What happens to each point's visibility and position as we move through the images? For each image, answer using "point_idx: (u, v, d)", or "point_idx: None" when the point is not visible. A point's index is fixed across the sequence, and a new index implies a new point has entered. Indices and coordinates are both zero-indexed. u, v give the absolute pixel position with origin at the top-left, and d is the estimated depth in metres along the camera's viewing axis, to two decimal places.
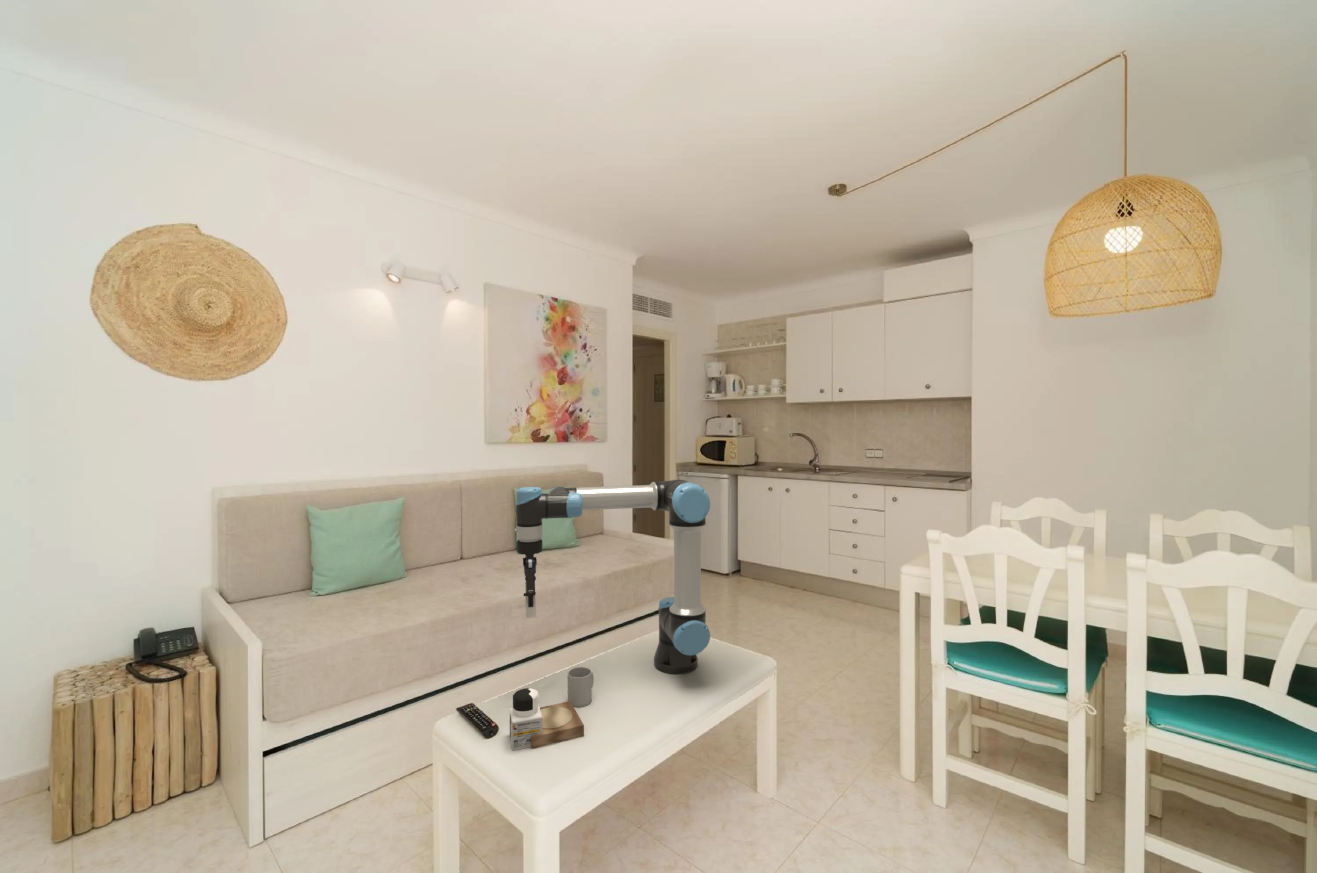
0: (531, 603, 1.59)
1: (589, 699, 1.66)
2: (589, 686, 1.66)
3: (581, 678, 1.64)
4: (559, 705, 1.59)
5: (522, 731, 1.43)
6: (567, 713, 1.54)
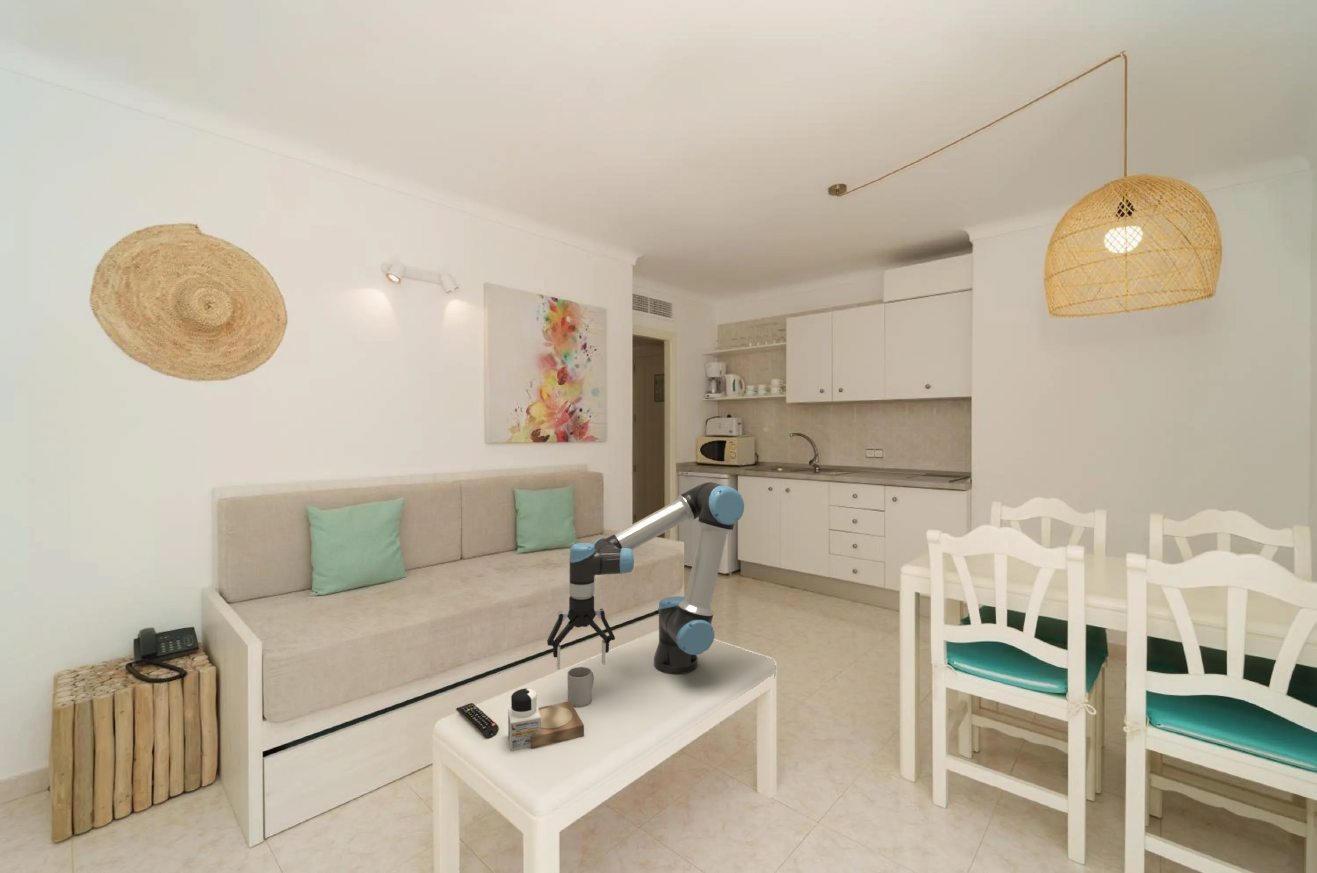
0: (553, 653, 1.66)
1: (589, 699, 1.66)
2: (589, 686, 1.66)
3: (581, 678, 1.64)
4: (559, 705, 1.59)
5: (520, 731, 1.43)
6: (567, 713, 1.54)
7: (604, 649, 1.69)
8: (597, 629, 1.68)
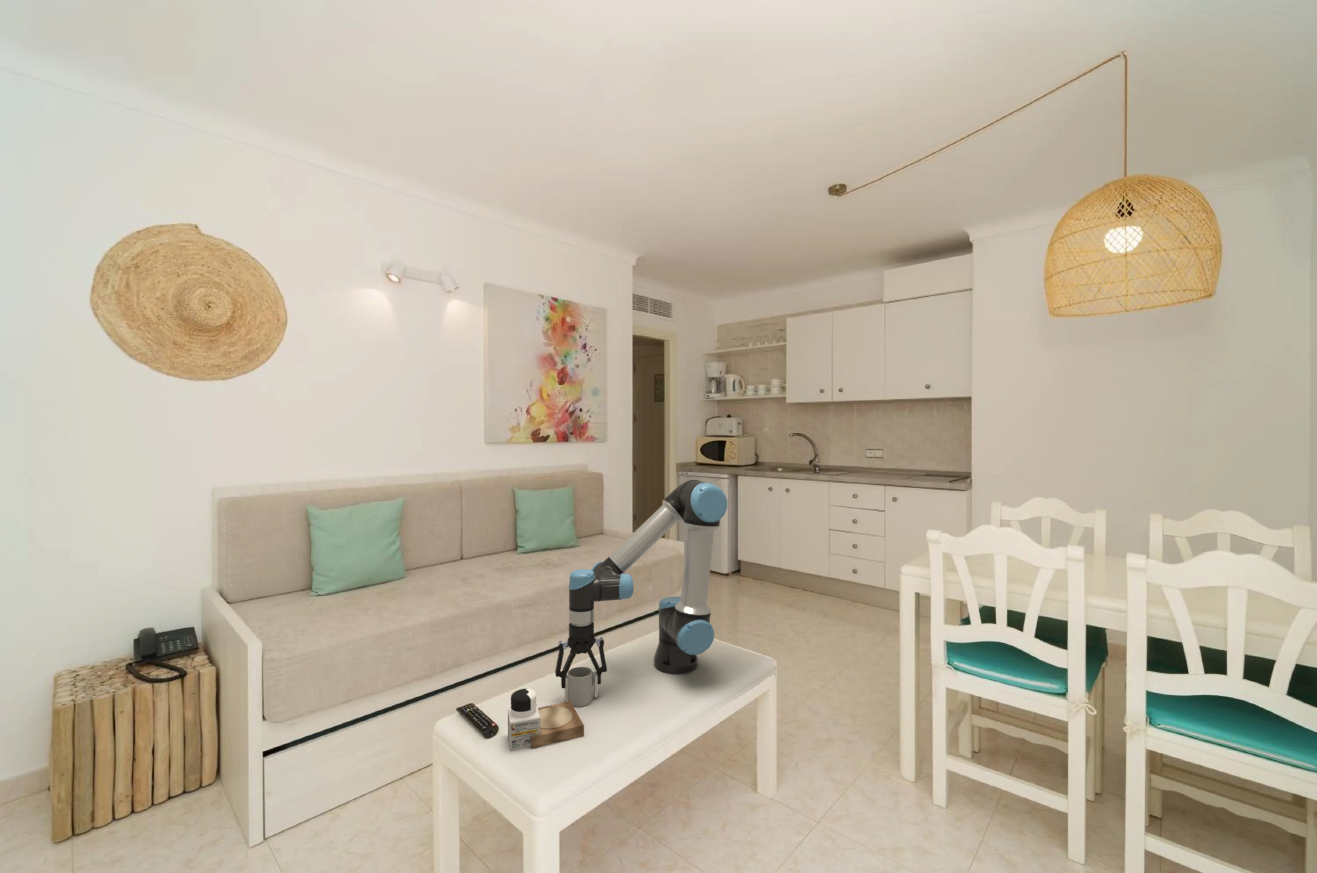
0: None
1: (589, 699, 1.66)
2: (589, 686, 1.66)
3: (582, 678, 1.64)
4: (559, 705, 1.59)
5: (520, 731, 1.43)
6: (567, 713, 1.54)
7: (596, 681, 1.68)
8: (593, 658, 1.68)
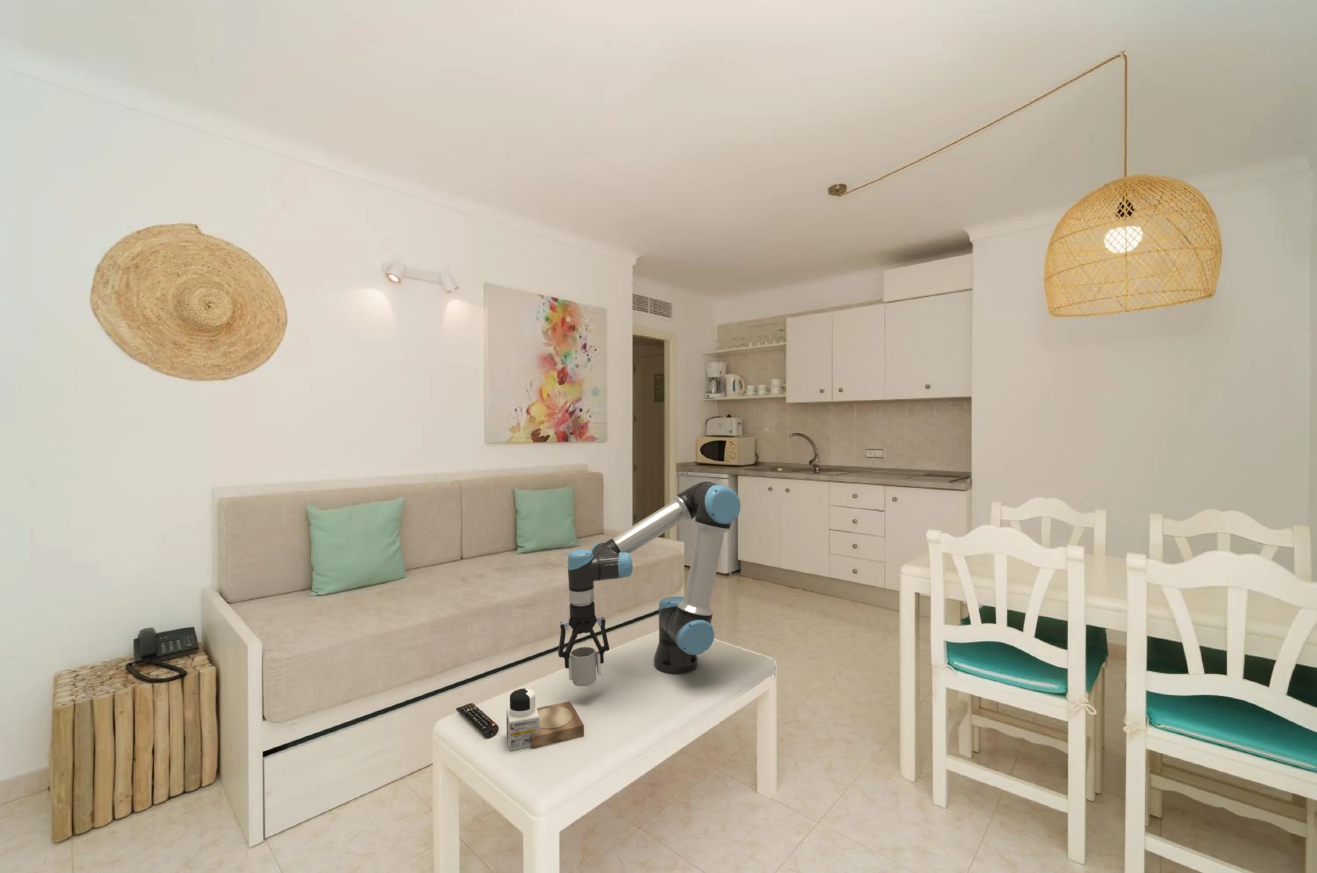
0: (565, 664, 1.67)
1: (593, 678, 1.66)
2: (593, 665, 1.66)
3: (585, 658, 1.64)
4: (559, 705, 1.59)
5: (519, 731, 1.43)
6: (567, 713, 1.54)
7: (599, 660, 1.68)
8: (595, 638, 1.68)
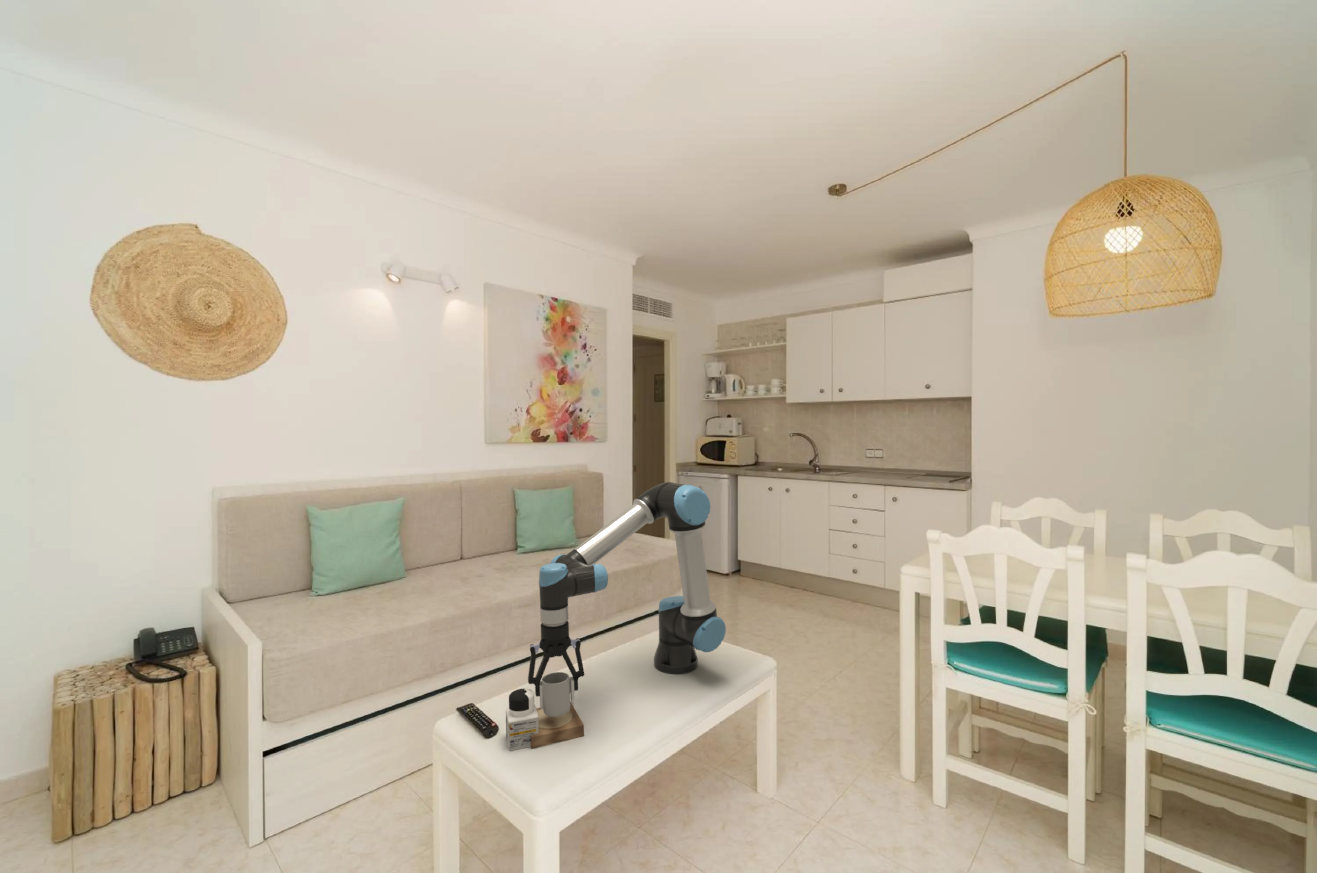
0: None
1: (567, 707, 1.49)
2: (567, 692, 1.49)
3: (558, 684, 1.47)
4: None
5: (518, 731, 1.43)
6: (567, 713, 1.54)
7: (573, 687, 1.52)
8: (568, 662, 1.51)
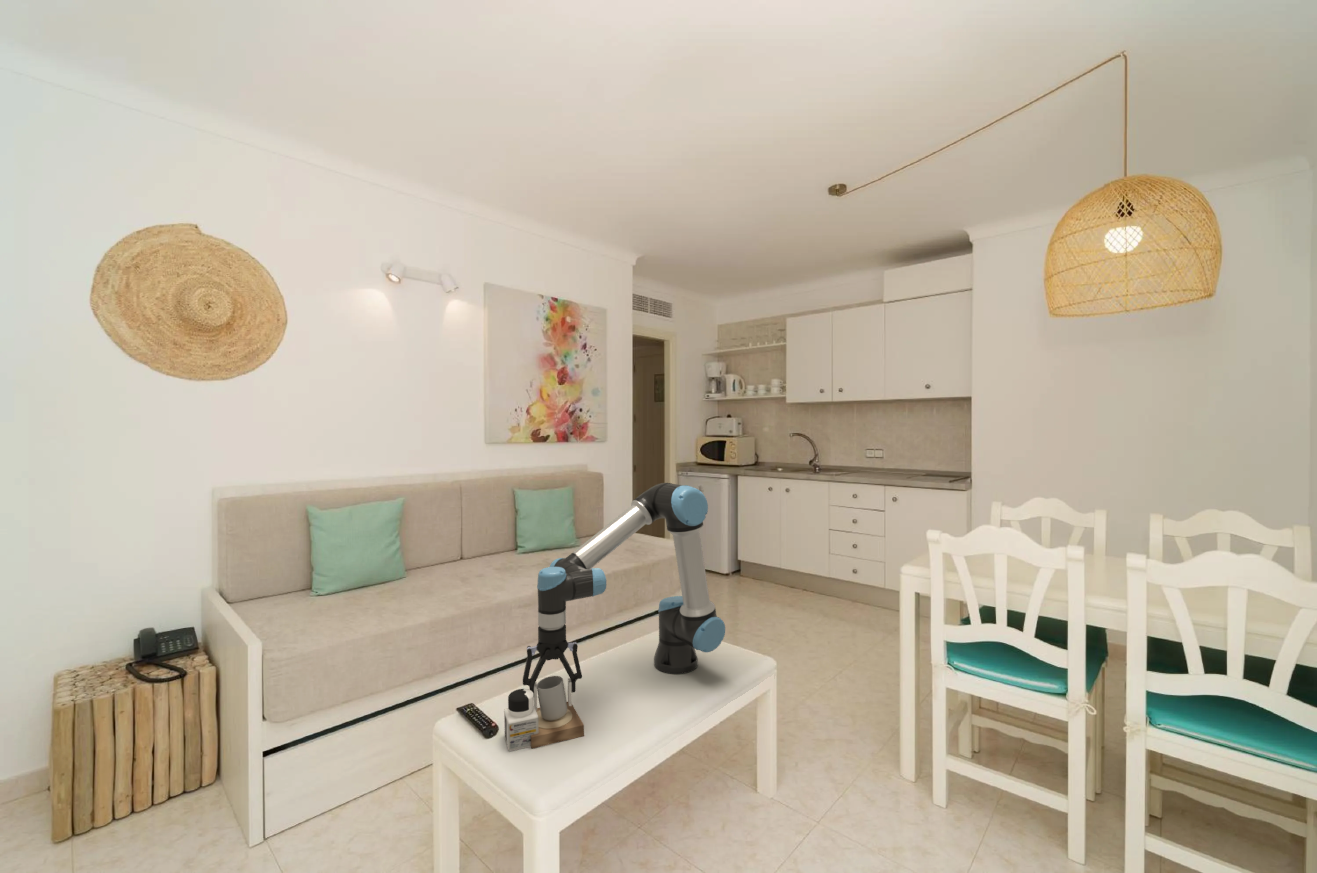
0: None
1: None
2: None
3: None
4: None
5: (518, 732, 1.43)
6: (567, 713, 1.54)
7: (570, 689, 1.53)
8: (566, 665, 1.52)
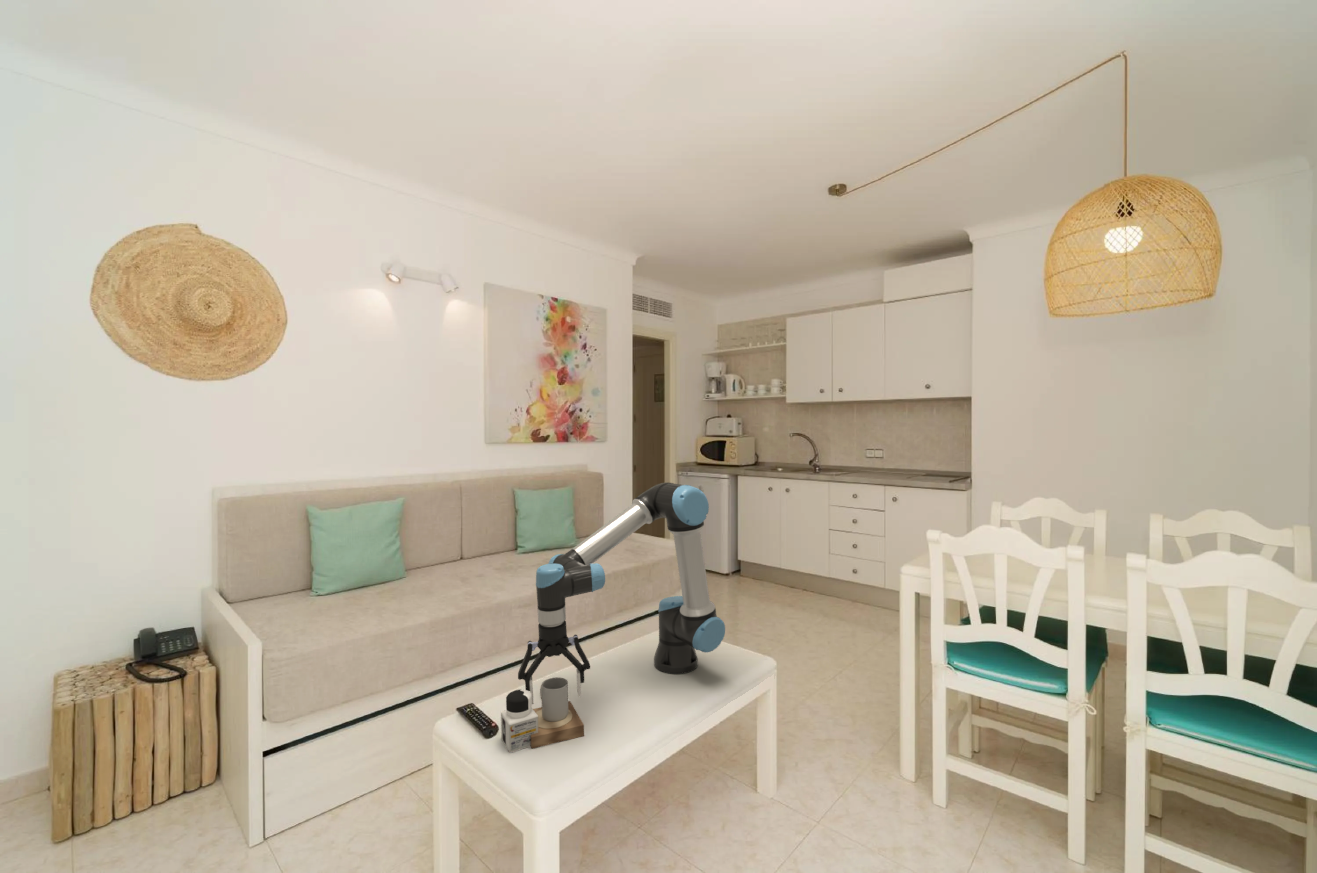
0: None
1: None
2: None
3: None
4: None
5: (519, 732, 1.43)
6: None
7: (579, 679, 1.53)
8: (570, 658, 1.53)
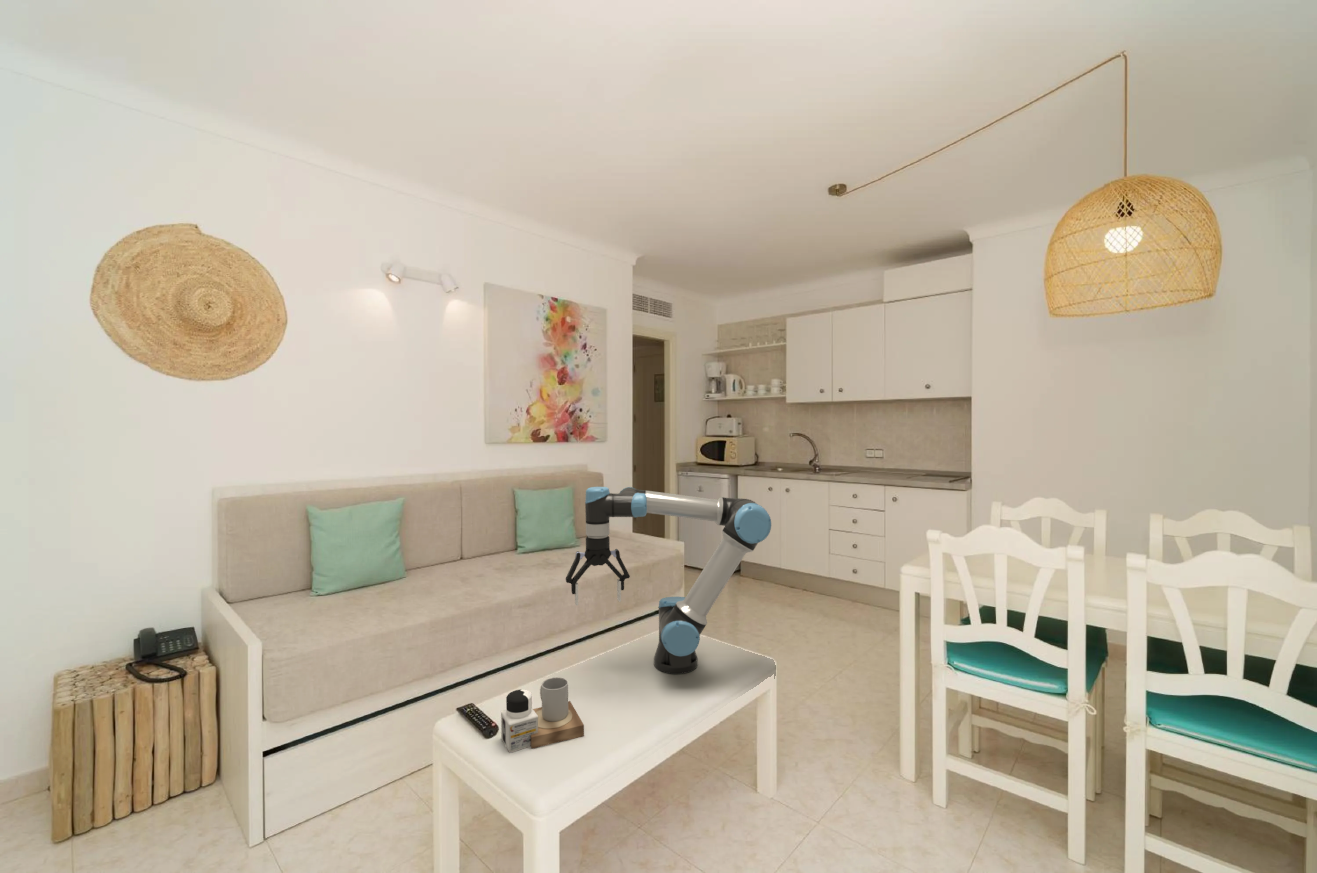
0: (571, 590, 1.75)
1: None
2: None
3: None
4: None
5: (518, 732, 1.43)
6: None
7: (620, 587, 1.77)
8: (613, 567, 1.77)
